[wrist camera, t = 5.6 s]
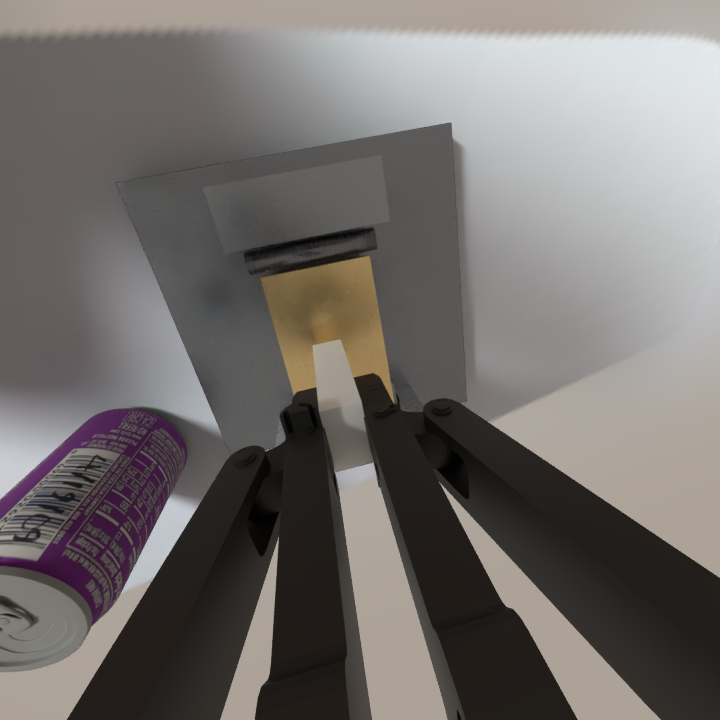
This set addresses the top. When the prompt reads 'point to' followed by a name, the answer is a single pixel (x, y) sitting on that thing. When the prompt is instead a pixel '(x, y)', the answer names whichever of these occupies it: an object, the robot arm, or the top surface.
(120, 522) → the beverage can
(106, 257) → the top surface
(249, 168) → the clamp base
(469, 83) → the top surface
